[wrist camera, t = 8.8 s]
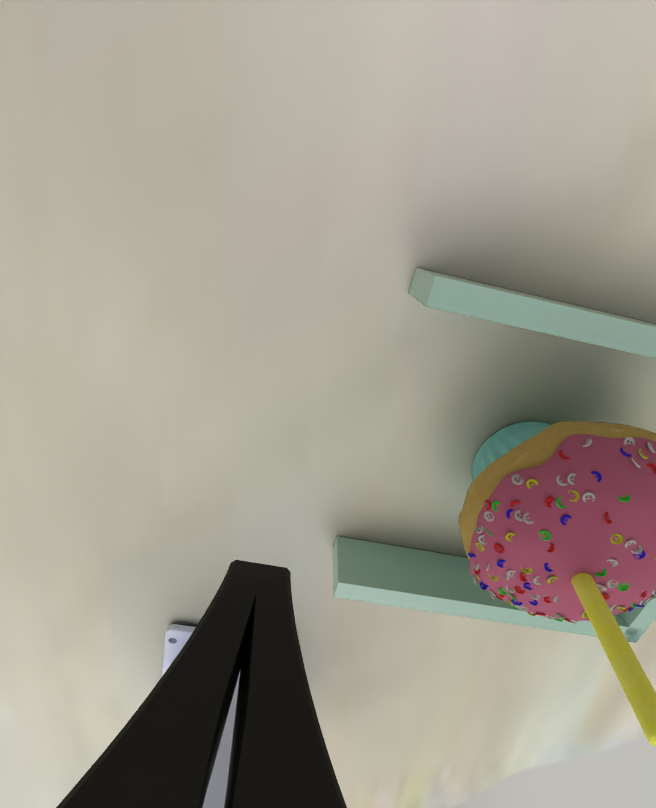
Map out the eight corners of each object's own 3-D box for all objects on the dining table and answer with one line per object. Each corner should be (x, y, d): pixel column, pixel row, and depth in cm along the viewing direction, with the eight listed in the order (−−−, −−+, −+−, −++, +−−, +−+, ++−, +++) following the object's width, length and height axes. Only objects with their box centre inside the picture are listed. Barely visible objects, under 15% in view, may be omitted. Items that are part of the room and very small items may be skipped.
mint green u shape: (598, 593, 23) (636, 642, 20) (332, 549, 21) (333, 597, 18) (769, 351, 17) (857, 374, 14) (416, 267, 15) (435, 275, 12)
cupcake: (447, 543, 21) (578, 880, 10) (419, 406, 18) (571, 690, 7) (610, 508, 20) (949, 838, 9) (614, 357, 17) (1155, 594, 6)
